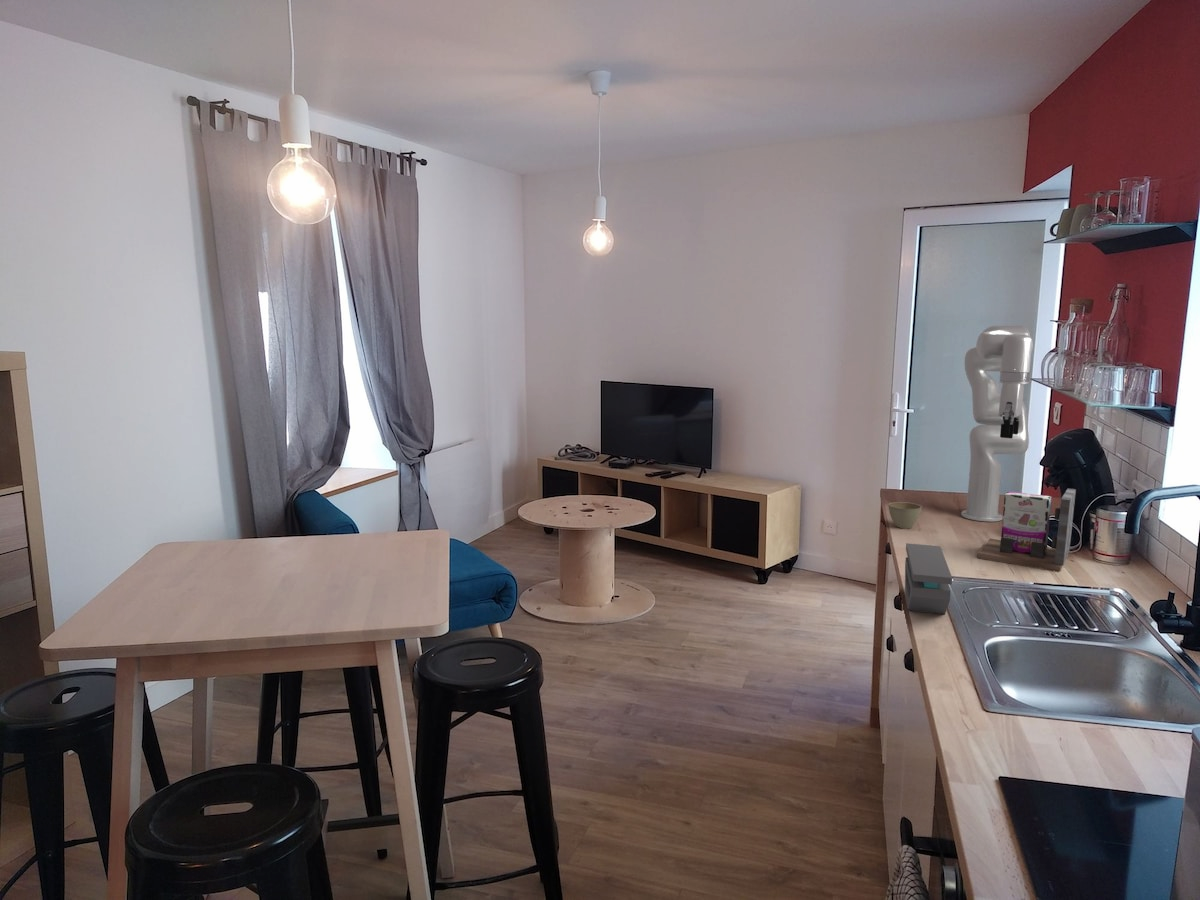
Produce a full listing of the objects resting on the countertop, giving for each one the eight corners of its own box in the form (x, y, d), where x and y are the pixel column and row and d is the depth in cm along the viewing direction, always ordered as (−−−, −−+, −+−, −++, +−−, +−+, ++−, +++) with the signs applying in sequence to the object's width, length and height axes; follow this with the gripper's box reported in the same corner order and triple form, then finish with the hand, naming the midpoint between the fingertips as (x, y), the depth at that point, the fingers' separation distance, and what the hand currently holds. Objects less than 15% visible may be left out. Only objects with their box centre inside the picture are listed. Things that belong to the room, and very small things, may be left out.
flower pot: (914, 523, 252) (916, 502, 250) (924, 531, 242) (926, 509, 241) (883, 522, 253) (885, 501, 251) (892, 530, 243) (893, 508, 242)
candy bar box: (1046, 552, 215) (1052, 495, 212) (1044, 556, 211) (1049, 499, 208) (1002, 545, 221) (1007, 490, 219) (999, 549, 217) (1004, 493, 215)
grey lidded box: (948, 625, 167) (952, 578, 165) (910, 621, 170) (913, 574, 168) (937, 588, 191) (940, 546, 189) (903, 584, 193) (906, 543, 191)
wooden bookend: (989, 543, 229) (995, 479, 226) (1069, 555, 217) (1076, 488, 213) (977, 558, 214) (983, 490, 211) (1062, 572, 202) (1069, 500, 199)
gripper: (1005, 375, 232) (1000, 431, 234) (994, 379, 218) (989, 438, 221) (1033, 376, 227) (1027, 433, 230) (1024, 380, 213) (1018, 440, 216)
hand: (1009, 435), depth 225 cm, fingers open, 9 cm apart
